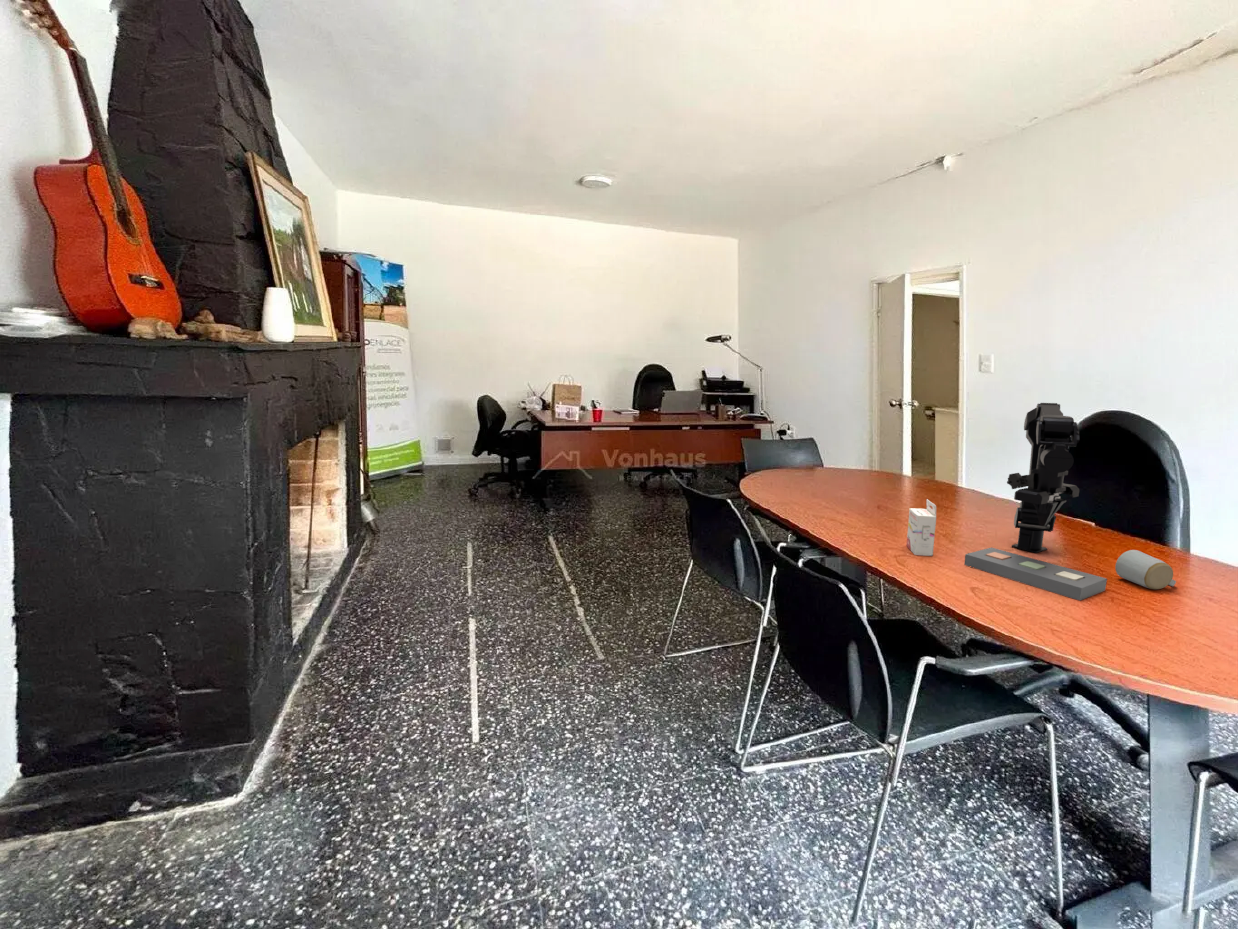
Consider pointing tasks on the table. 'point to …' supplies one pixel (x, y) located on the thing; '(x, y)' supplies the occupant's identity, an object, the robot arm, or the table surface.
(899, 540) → the table surface
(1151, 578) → the ceramic mug
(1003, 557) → the terracotta button
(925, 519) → the ink cartridge box
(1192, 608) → the table surface
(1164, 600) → the table surface
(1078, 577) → the cream button
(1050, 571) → the console
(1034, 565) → the sage button
